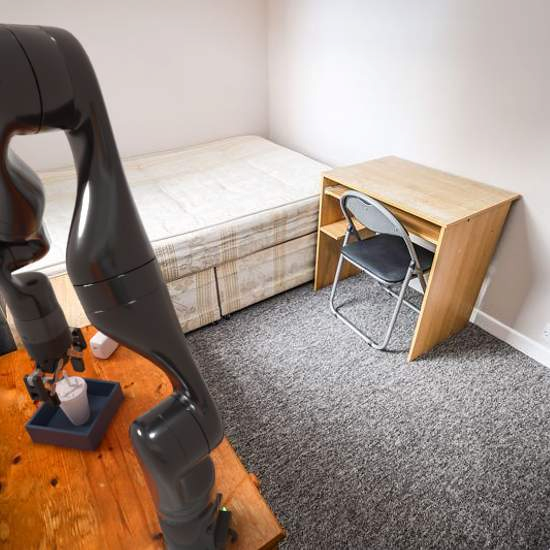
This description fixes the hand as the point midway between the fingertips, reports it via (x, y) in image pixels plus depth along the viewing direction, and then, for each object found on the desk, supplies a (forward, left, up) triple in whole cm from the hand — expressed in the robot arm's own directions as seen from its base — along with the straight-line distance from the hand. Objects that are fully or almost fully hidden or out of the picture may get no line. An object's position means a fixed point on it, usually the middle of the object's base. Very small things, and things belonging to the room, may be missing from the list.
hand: (68, 386), depth 77 cm
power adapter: (+4, -22, -10) cm, 25 cm away
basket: (0, 0, -10) cm, 10 cm away
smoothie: (0, 0, -10) cm, 10 cm away
